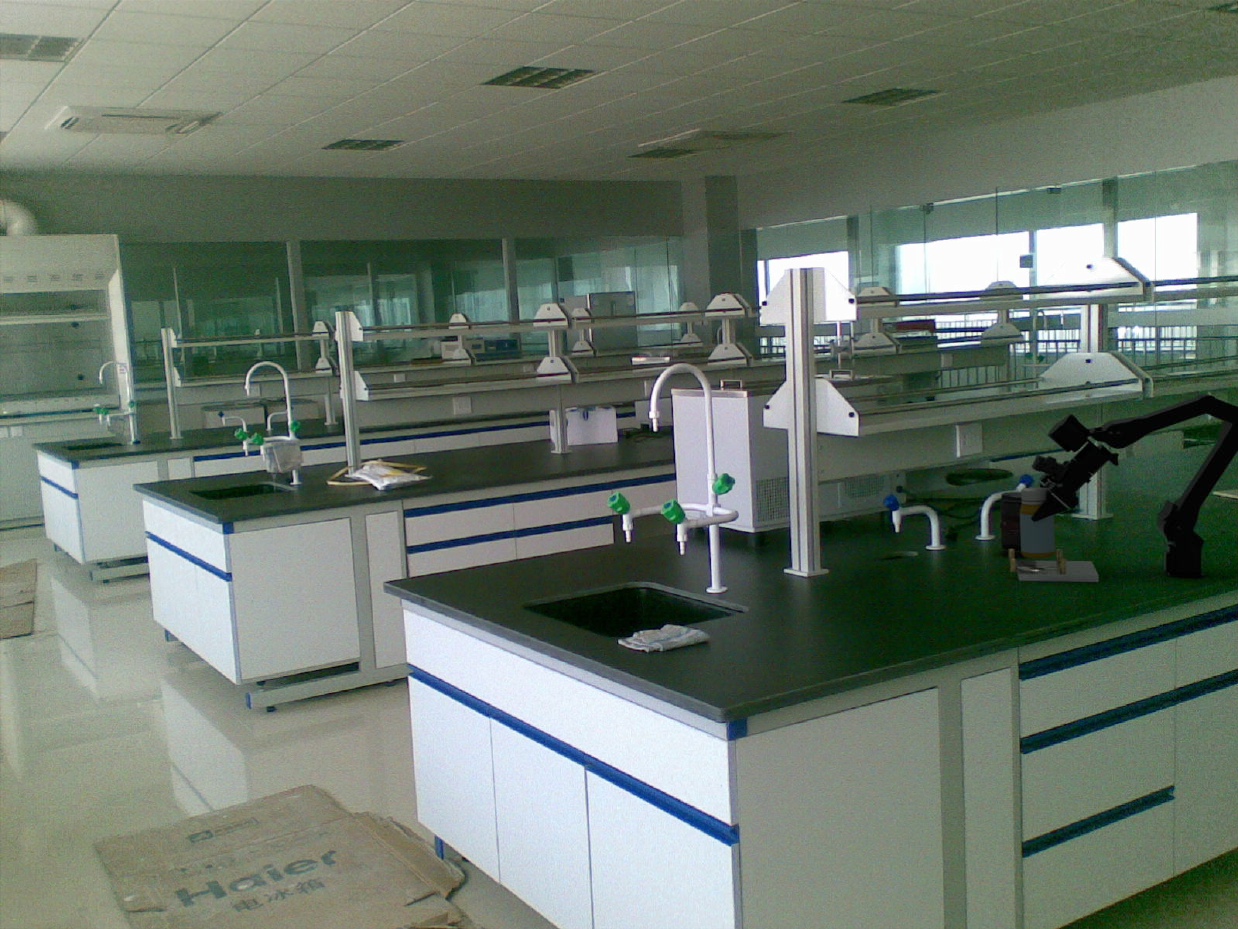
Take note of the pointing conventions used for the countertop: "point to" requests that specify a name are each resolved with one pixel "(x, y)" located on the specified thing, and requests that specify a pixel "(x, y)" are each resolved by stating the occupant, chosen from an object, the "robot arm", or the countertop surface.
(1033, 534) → the bottle
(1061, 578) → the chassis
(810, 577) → the countertop surface
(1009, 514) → the camera lens
